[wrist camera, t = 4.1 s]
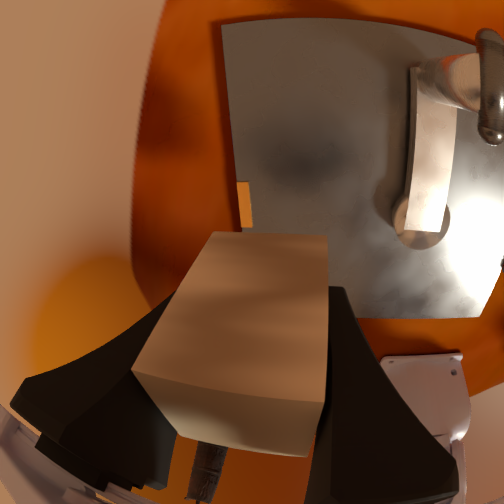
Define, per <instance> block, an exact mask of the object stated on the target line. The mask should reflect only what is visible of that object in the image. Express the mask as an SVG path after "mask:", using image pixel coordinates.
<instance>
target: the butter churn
mask: <svg viewBox="0 0 504 504" xmlns="http://www.w3.org/2000/svg"><path fill="white" fill-rule="evenodd" d="M227 450H228V447H226V446H221V445H216V444H212V443H207V442H203V441H199V440H198V446H197V451H196V455H195V459H194V464H193V467H192V473H191V477H190V482H189V487H188V493H187V497H185V499H186V500H190V499H195V500H196V504H199V503H200V501H203V502H206V503H208V504H210V503H211V501H212V499H213V496H214V493H215V491H216V488H217V485H218V482H219V479H220V476H221V472H222V466H223V464H224V459H225V456H226V453H227Z"/></svg>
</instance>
